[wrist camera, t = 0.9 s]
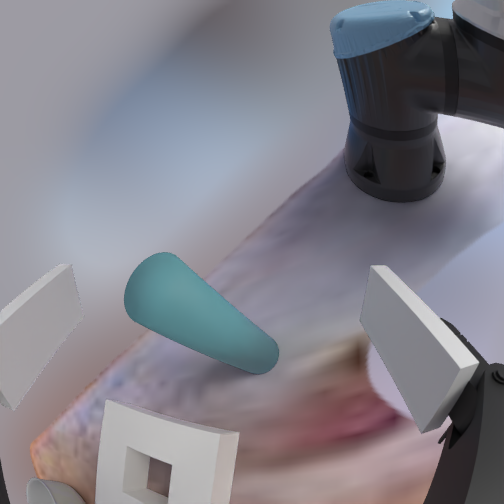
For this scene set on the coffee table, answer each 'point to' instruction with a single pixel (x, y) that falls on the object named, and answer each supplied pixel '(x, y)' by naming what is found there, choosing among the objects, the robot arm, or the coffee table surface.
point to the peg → (195, 315)
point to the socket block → (162, 458)
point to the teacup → (51, 493)
